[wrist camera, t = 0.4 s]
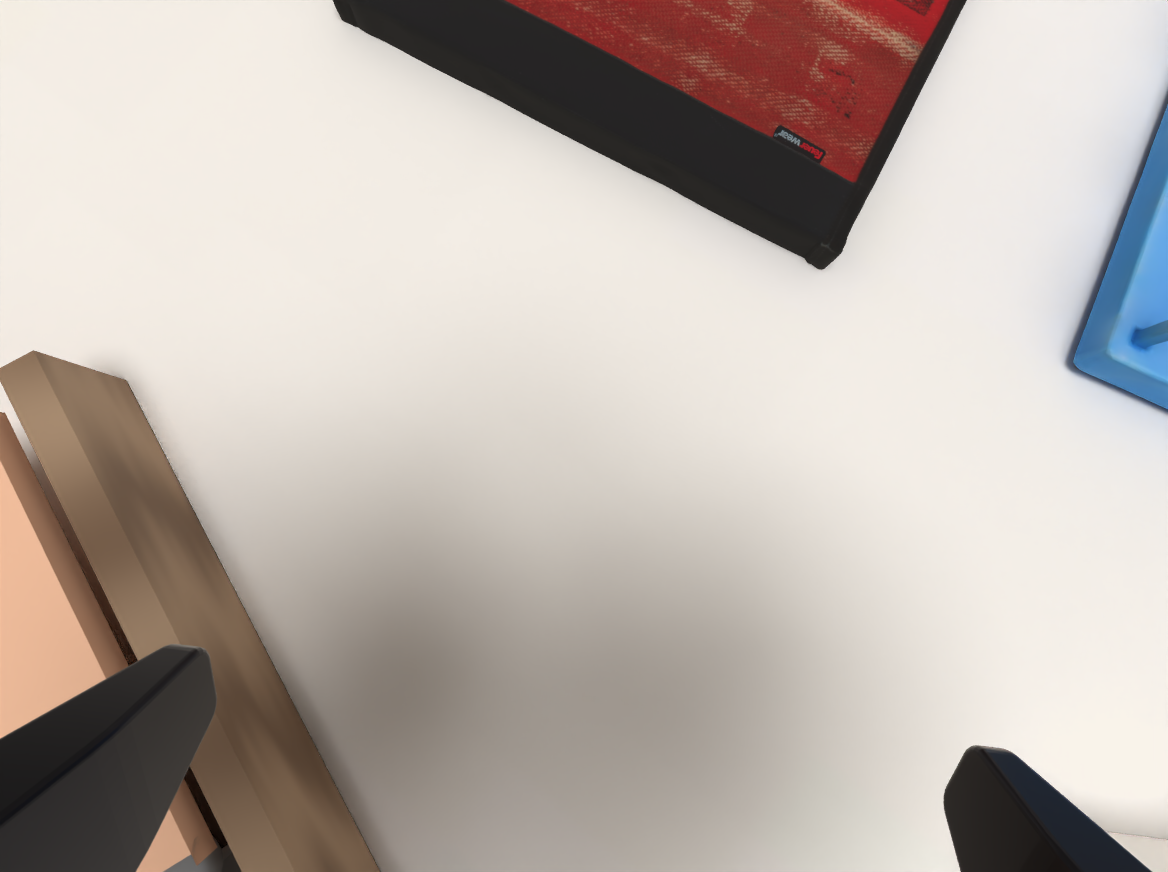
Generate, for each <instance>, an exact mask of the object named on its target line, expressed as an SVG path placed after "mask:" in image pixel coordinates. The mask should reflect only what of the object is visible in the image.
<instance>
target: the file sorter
mask: <svg viewBox="0 0 1168 872" xmlns="http://www.w3.org/2000/svg"><path fill="white" fill-rule="evenodd" d="M1073 362H1074V364H1075V366H1076V367H1077V368H1078V369H1079V370H1081V371H1083V372H1085V373H1088V374H1090V375H1092V376H1094V377H1097V378H1099V379H1101V380H1104V381H1106V382H1108V383H1110V384H1113V385H1115V386H1117V387H1120V388H1122V389H1124V390H1126V391H1128V392H1131V393H1133V394H1135V395H1137V396H1139V397H1142V398H1144V399H1146V400H1148V401H1150V402H1153V403H1155V404H1157V405H1159V406H1162V407H1164V408H1166V409H1168V105H1167V108H1166V111H1165V113H1164V116H1163V119H1162V121H1161V124H1160V127H1159V129H1158V132H1157V134H1156V137H1155V139H1154V142H1153V145H1152V147H1151V150H1150V153H1149V156H1148V159H1147V162H1146V165H1145V167H1144V170H1143V173H1142V176H1141V178H1140V181H1139V184H1138V186H1137V189H1136V191H1135V194H1134V197H1133V199H1132V202H1131V205H1130V208H1129V210H1128V213H1127V216H1126V218H1125V221H1124V224H1123V227H1122V229H1121V232H1120V235H1119V238H1118V241H1117V243H1116V246H1115V249H1114V252H1113V254H1112V257H1111V260H1110V262H1109V265H1108V268H1107V270H1106V273H1105V276H1104V278H1103V281H1102V284H1101V287H1100V289H1099V292H1098V295H1097V297H1096V300H1095V303H1094V305H1093V308H1092V311H1091V313H1090V316H1089V319H1088V321H1087V324H1086V327H1085V329H1084V332H1083V335H1082V337H1081V340H1080V343H1079V345H1078V348H1077V351H1076V353H1075V357H1074V361H1073Z"/></svg>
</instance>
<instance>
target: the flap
mask: <svg viewBox="0 0 1168 872" xmlns="http://www.w3.org/2000/svg"><path fill="white" fill-rule="evenodd" d="M128 666H129V665H128V663H127V661H126V659H125V657H124V655H123V653H122V651H121V649H120V647H119V645H118V643H117V641H116V639H115V636H114V634H113V632H112V630H111V628H110V626H109V624H108V622H107V620H106V618H105V616H104V614H103V612H102V610H101V608H100V606H99V604H98V602H97V600H96V598H95V596H94V594H93V592H92V590H91V588H90V585H89V583H88V581H87V579H86V577H85V575H84V573H83V571H82V569H81V567H80V565H79V563H78V561H77V559H76V557H75V555H74V553H73V551H72V549H71V547H70V545H69V543H68V541H67V539H66V536H65V534H64V532H63V530H62V528H61V526H60V524H59V522H58V520H57V518H56V516H55V514H54V512H53V510H52V508H51V506H50V504H49V502H48V500H47V498H46V496H45V494H44V492H43V490H42V488H41V485H40V483H39V481H38V479H37V477H36V475H35V473H34V471H33V469H32V467H31V465H30V463H29V461H28V459H27V457H26V455H25V453H24V451H23V449H22V447H21V445H20V443H19V441H18V439H17V437H16V434H15V432H14V430H13V428H12V426H11V424H10V422H9V420H8V418H7V416H6V414H5V413H2V412H0V738H2V737H4V736H5V735H7V734H9V733H11V732H12V731H14V730H16V729H18V728H20V727H21V726H23V725H25V724H27V723H28V722H30V721H32V720H34V719H35V718H37V717H39V716H41V715H43V714H44V713H46V712H48V711H50V710H51V709H53V708H55V707H57V706H59V705H60V704H62V703H64V702H66V701H67V700H69V699H71V698H73V697H74V696H76V695H78V694H80V693H82V692H83V691H85V690H87V689H89V688H90V687H92V686H94V685H96V684H98V683H99V682H101V681H103V680H105V679H106V678H108V677H110V676H112V675H114V674H115V673H117V672H119V671H121V670H122V669H124V668H126V667H128ZM136 872H242V871H241V869H240V867H239V865H238V863H237V861H236V859H235V857H234V855H233V853H232V851H231V849H230V847H229V845H227V846H225V847H223V848H222V849H221V847H220V845H219V843H218V842H217V840H216V839H215V838H214V837H213V836H212V834H211V832H210V830H209V828H208V826H207V824H206V822H205V820H204V818H203V816H202V814H201V812H200V810H199V808H198V806H197V804H196V802H195V800H194V798H193V796H192V794H191V792H190V789H189V787H188V785H187V783H186V781H185V779H183V781H182V783H181V785H180V787H179V789H178V791H177V793H176V795H175V797H174V799H173V801H172V803H171V806H170V808H169V810H168V812H167V814H166V816H165V818H164V820H163V822H162V824H161V826H160V828H159V830H158V832H157V834H156V836H155V838H154V840H153V842H152V844H151V846H150V848H149V850H148V852H147V853H146V855H145V857H144V859H143V860H142V862H141V864H140V866H139V867H138V869H137V871H136Z"/></svg>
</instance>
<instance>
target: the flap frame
mask: <svg viewBox="0 0 1168 872" xmlns="http://www.w3.org/2000/svg"><path fill="white" fill-rule="evenodd" d="M0 382H1V384H2V386H3V388H4V390H5V392H6V394H7V396H8V398H9V400H10V402H11V404H12V406H13V408H14V410H15V412H16V414H17V416H18V418H19V420H20V422H21V424H22V426H23V428H24V430H25V432H26V434H27V436H28V439H29V441H30V443H31V445H32V447H33V449H34V451H35V453H36V455H37V457H38V459H39V461H40V463H41V465H42V467H43V469H44V471H45V473H46V475H47V477H48V479H49V481H50V483H51V485H52V487H53V489H54V491H55V493H56V495H57V497H58V499H59V502H60V504H61V506H62V508H63V510H64V512H65V514H66V516H67V518H68V520H69V522H70V524H71V526H72V528H73V530H74V532H75V534H76V536H77V538H78V540H79V542H80V544H81V546H82V548H83V550H84V552H85V554H86V556H87V558H88V560H89V562H90V564H91V567H92V569H93V571H94V573H95V575H96V577H97V579H98V581H99V583H100V585H101V587H102V589H103V591H104V593H105V595H106V597H107V599H108V601H109V603H110V605H111V607H112V609H113V611H114V613H115V615H116V617H117V619H118V621H119V623H120V625H121V627H122V629H123V632H124V634H125V636H126V638H127V640H128V642H129V644H130V646H131V648H132V650H133V652H134V654H135V656H136V658H137V660H140V659H142V658H144V657H145V656H147V655H149V654H151V653H153V652H154V651H156V650H158V649H160V648H162V647H164V646H166V645H169V644H181V645H189V646H197V647H202V648H205V649H206V651H207V652H208V653H209V656H210V660H211V666H212V671H213V677H214V682H215V688H216V693H217V705H216V710H215V713H214V716H213V718H212V721H211V723H210V725H209V727H208V729H207V731H206V733H205V735H204V737H203V739H202V741H201V744H200V746H199V748H198V750H197V752H196V754H195V756H194V758H193V760H192V762H191V764H190V768H191V770H192V772H193V774H194V776H195V778H196V780H197V782H198V784H199V786H200V788H201V790H202V792H203V794H204V796H205V798H206V800H207V802H208V804H209V806H210V808H211V810H212V812H213V814H214V816H215V818H216V820H217V822H218V824H219V827H220V829H221V831H222V833H223V835H224V837H225V839H226V841H227V843H228V845H229V847H230V849H231V851H232V853H233V855H234V857H235V859H236V861H237V863H238V865H239V867H240V869H241V871H242V872H380V871H379V869H378V867H377V865H376V863H375V861H374V859H373V857H372V855H371V853H370V851H369V849H368V847H367V845H366V843H365V842H364V840H363V838H362V836H361V834H360V832H359V830H358V828H357V826H356V824H355V822H354V820H353V818H352V816H351V814H350V812H349V811H348V809H347V807H346V805H345V803H344V801H343V799H342V797H341V795H340V793H339V791H338V789H337V787H336V785H335V783H334V782H333V780H332V778H331V776H330V774H329V772H328V770H327V768H326V766H325V764H324V762H323V760H322V758H321V756H320V754H319V753H318V751H317V749H316V747H315V745H314V743H313V741H312V739H311V737H310V735H309V733H308V731H307V729H306V727H305V725H304V724H303V722H302V720H301V718H300V716H299V714H298V712H297V710H296V708H295V706H294V704H293V702H292V700H291V698H290V696H289V695H288V693H287V691H286V689H285V687H284V685H283V683H282V681H281V679H280V677H279V675H278V673H277V671H276V669H275V667H274V665H273V664H272V662H271V660H270V658H269V656H268V654H267V652H266V650H265V648H264V646H263V644H262V642H261V640H260V638H259V636H258V635H257V633H256V631H255V629H254V627H253V625H252V623H251V621H250V619H249V617H248V615H247V613H246V611H245V609H244V607H243V606H242V604H241V602H240V600H239V598H238V596H237V594H236V592H235V590H234V588H233V586H232V584H231V582H230V580H229V578H228V577H227V575H226V573H225V571H224V569H223V567H222V565H221V563H220V561H219V559H218V557H217V555H216V553H215V551H214V549H213V548H212V546H211V544H210V542H209V540H208V538H207V536H206V534H205V532H204V530H203V528H202V526H201V524H200V522H199V520H198V518H197V517H196V515H195V513H194V511H193V509H192V507H191V505H190V503H189V501H188V499H187V497H186V495H185V493H184V491H183V489H182V488H181V486H180V484H179V482H178V480H177V478H176V476H175V474H174V472H173V470H172V468H171V466H170V464H169V462H168V460H167V459H166V457H165V455H164V453H163V451H162V449H161V447H160V445H159V443H158V441H157V439H156V437H155V435H154V433H153V431H152V430H151V428H150V426H149V424H148V422H147V420H146V418H145V416H144V414H143V412H142V410H141V408H140V406H139V404H138V402H137V401H136V399H135V397H134V395H133V393H132V391H131V389H130V387H129V385H128V383H127V381H126V380H123V379H120V378H117V377H114V376H111V375H108V374H105V373H102V372H98V371H95V370H92V369H89V368H86V367H83V366H80V365H77V364H74V363H71V362H68V361H64V360H61V359H58V358H55V357H52V356H49V355H46V354H43V353H40V352H37V351H34V350H33V351H31V352H30V353H28V354H26V355H24V356H22V357H20V358H18V359H16V360H15V361H13V362H11V363H9V364H7V365H5V366H3V367H1V368H0Z"/></svg>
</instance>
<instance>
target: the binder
mask: <svg viewBox="0 0 1168 872" xmlns="http://www.w3.org/2000/svg"><path fill="white" fill-rule="evenodd" d="M966 1H967V0H333V2H334V4H335V7H336V9H337V11H338V13H339V15H340V17H341V18H342V20H343V21H344V22H346V23H349V24H351V25H353V26H355V27H359V28H360V29H361V30H363V31H364V32H366V33H368V34H369V35H371V36H374V37H376V38H378V39H380V40H382V41H385V42H387V43H388V44H390V45H392V46H394V47H396V48H398V49H400V50H402V51H403V52H405V53H407V54H409V55H411V56H412V57H414V58H416V59H418V60H420V61H422V62H424V63H426V64H427V65H429V66H431V67H433V68H435V69H437V70H439V71H441V72H443V73H445V74H447V75H449V76H451V77H453V78H455V79H457V80H459V81H461V82H463V83H465V84H467V85H469V86H471V87H473V88H475V89H478V90H480V91H482V92H484V93H486V94H488V95H490V96H492V97H494V98H496V99H497V100H499V101H501V102H503V103H505V104H507V105H508V106H510V107H512V108H514V109H516V110H518V111H519V112H521V113H523V114H525V115H527V116H529V117H531V118H533V119H534V120H536V121H538V122H540V123H542V124H544V125H546V126H548V127H550V128H552V129H553V130H555V131H557V132H559V133H561V134H563V135H565V136H567V137H569V138H571V139H573V140H575V141H577V142H579V143H581V144H583V145H584V146H586V147H588V148H590V149H592V150H594V151H596V152H598V153H600V154H602V155H604V156H606V157H608V158H610V159H612V160H614V161H616V162H618V163H620V164H622V165H624V166H626V167H628V168H630V169H632V170H633V171H636V172H638V173H640V174H642V175H644V176H646V177H648V178H651V179H653V180H655V181H657V182H659V183H661V184H663V185H665V186H667V187H669V188H670V189H672V190H674V191H676V192H677V193H679V194H681V195H682V196H684V197H686V198H688V199H690V200H692V201H694V202H695V203H697V204H699V205H701V206H703V207H704V208H706V209H708V210H710V211H712V212H714V213H716V214H718V215H720V216H722V217H724V218H726V219H727V220H729V221H731V222H733V223H735V224H737V225H739V226H741V227H743V228H745V229H747V230H749V231H751V232H753V233H755V234H757V235H759V236H761V237H763V238H765V239H767V240H769V241H771V242H773V243H775V244H777V245H779V246H781V247H783V248H785V249H787V250H789V251H791V252H793V253H795V254H797V255H799V256H801V257H803V258H805V259H806V261H807V262H808V263H809V264H812V265H813V266H815V267H816V268H818V269H825V268H826V267H827V266H828V265H829V264H830V263H831V262H832V261H834V260H835V259H836V258H837V257H838V256H839V255H840V254H841V253H842V251H843V248H844V246H845V244H846V240H847V237H848V234H849V232H850V230H851V228H852V226H853V224H854V222H855V220H856V218H857V216H858V214H859V213H860V211H861V209H862V207H863V205H864V203H865V200H866V199H867V197H868V195H869V193H870V191H871V190H872V188H873V186H874V184H875V182H876V180H877V178H878V176H879V174H880V172H881V170H882V168H883V166H884V164H885V162H886V160H887V158H888V156H889V154H890V152H891V150H892V148H893V146H894V144H895V143H896V141H897V139H898V137H899V135H900V132H901V130H902V128H903V126H904V124H905V122H906V120H907V118H908V116H909V114H910V112H911V110H912V108H913V106H914V104H915V102H916V100H917V98H918V96H919V94H920V92H921V89H922V88H923V86H924V84H925V82H926V80H927V78H928V76H929V74H930V72H931V70H932V68H933V66H934V64H935V62H936V60H937V58H938V56H939V54H940V52H941V50H942V48H943V46H944V44H945V42H946V40H947V39H948V37H949V34H950V32H951V30H952V28H953V26H954V24H955V22H956V20H957V18H958V16H959V14H960V12H961V10H962V8H963V6H964V5H965V3H966Z"/></svg>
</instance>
